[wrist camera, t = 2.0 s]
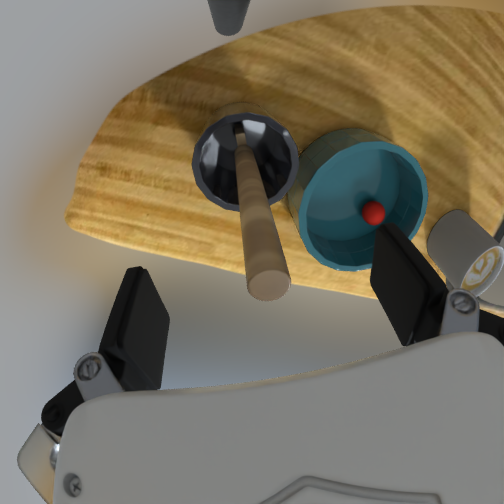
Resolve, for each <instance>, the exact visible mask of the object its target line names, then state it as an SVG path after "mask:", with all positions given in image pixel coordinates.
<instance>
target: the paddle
mask: <svg viewBox="0 0 504 504" xmlns="http://www.w3.org/2000/svg"><path fill="white" fill-rule="evenodd" d="M234 126H235V134H236V139H237V145H238V147H237V148H236V149H235V165H236V176H237V187H238V198H239V208H240V219H241V230H242V240H243V250H244V261H245V271H246V280H247V289H248V291H249V293H250V294H251V295H252V296H253V297H254V298H256V299H258V300H261V301H272V300H276V299H279V298H281V297H282V296H284V295H285V294H286V293H287V292H288V290H289V289H290V286H291V278H290V274H289V271H288V267H287V264H286V260H285V257H284V253H283V250H282V246H281V243H280V239H279V236H278V232H277V229H276V226H275V222H274V219H273V215H272V212H271V209H270V205H269V202H268V199H267V196H266V192H265V189H264V186H263V182H262V179H261V176H260V173H259V170H258V166H257V163H256V160H255V157H254V154H253V151H252V148H251V147H250V146H248V145H247V143H246V137H245V132H244V129H243V125H242V124H236V125H234Z"/></svg>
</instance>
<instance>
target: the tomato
mask: <svg viewBox="0 0 504 504" xmlns="http://www.w3.org/2000/svg"><path fill="white" fill-rule="evenodd" d="M362 217H363V219H364V221H365V222H366V223H368V224H370V225H378V224H380V223H381V222H382V221H383V220H384V218H385V209H384V207H383V206H382V204H380V203H379V202H377V201H370V202H368V203H366V204H365V205H364V207H363V209H362Z"/></svg>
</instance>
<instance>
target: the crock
mask: <svg viewBox="0 0 504 504" xmlns="http://www.w3.org/2000/svg"><path fill="white" fill-rule="evenodd" d="M236 124H242V125H243V129H244V132H245V137H246V143H247V145H248V146H250V147H251V148H252V151H253V154H254V157H255V160H256V163H257V166H258V170H259V173H260V176H261V179H262V182H263V186H264V189H265V192H266V196H267V199H268V202H269V205H272V204H274V203H276V202H277V201H279V200H280V199H282V198H283V196H284V195H285V194H286V193H287V192H288V191H289V189H290V188H291V187H292V186H293V184H294V181H295V178H296V175H297V172H298V169H299V159H298V149H297V145H296V144H295V142H294V140H293V139H292V137H291V135H290V133H289V132H288V130H287V129H286V128H285V127H284V126H283V125H282V124H281V123H280V122H279V121H278V120H277V119H276V118H275V117H274V116H272V115H271V114H270V113H269V112H267V111H266V110H265V109H263V108H262V107H260V106H259V105H255V104H252V103H247V102H236V103H231V104H227V105H225V106H223V107H221V108H219V109H218V110H217V111H215V112H214V113H213V114H212V115H211V116H210V117H209V119H208V120H207V122H206V123H205V125H204V127H203V129H202V131H201V133H200V135H199V138H198V140H197V142H196V145H195V148H194V153H193V159H192V169H193V173H194V177H195V181H196V184H197V186H198V187H199V188H200V190H201V191H202V192H203V194H204V195H205V196H206V197H207V199H209V200H210V201H212V202H213V203H215V204H217V205H219V206H220V207H222V208H224V209H226V210H232V211H238V212H240V208H239V198H238V187H237V176H236V165H235V149H236V148H237V147H238V145H237V139H236V134H235V126H234V125H236Z"/></svg>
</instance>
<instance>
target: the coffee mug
mask: <svg viewBox="0 0 504 504" xmlns="http://www.w3.org/2000/svg"><path fill="white" fill-rule="evenodd" d="M427 251H428V254H429V256H430V257H431V258H432V260H433V261H434V262H435V263H436V265H437V266H438V267H439V268H440V270H441V271H442V272H443V274H444V275H445V276H446V285H447V289H448V290H449V291H451V290H453V289H456V288H461V289H465V290H468V291H470V292H471V293H472V294H474V295H475V297H477V296H479V295H480V294H481V293H483V292H484V291H485V290H486V289H487V288H488V287H489V286H490V285H491V284H492V283H493V282H494V280H495V279H496V278H497V276H498V274H499V273H500V271H501V269H502V266H503V263H504V249H503V248H502V246H501V245H500V244H499V243H498V242H497V241H496V240H495V239H494V238H493V237H492V236H491V235H490V234H489V233H488V232H486V231H485V230H484V229H483V228H482V227H481V226H480V225H479V224H478V223H477V222H476V221H475V220H473V219H472V218H471V217H470V216H469V215H468V214H467V213H466V212H464V211H462V210H453V211H451V212H448V213H447V214H445V215H444V216H443V217H442V218H441V219H440V220H439V221H438V222H437V223H436V224H435V226H434V227H433V229H432V231H431V233H430V235H429V238H428V243H427Z"/></svg>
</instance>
